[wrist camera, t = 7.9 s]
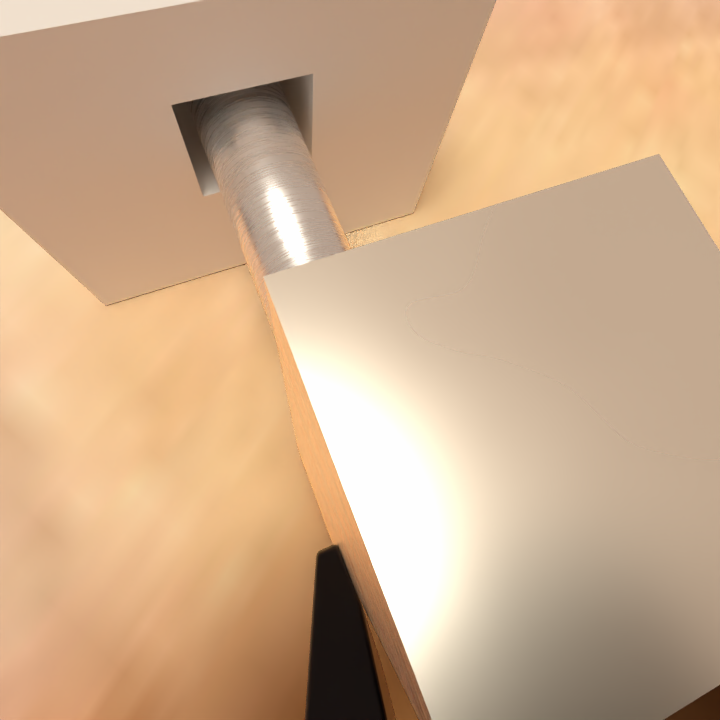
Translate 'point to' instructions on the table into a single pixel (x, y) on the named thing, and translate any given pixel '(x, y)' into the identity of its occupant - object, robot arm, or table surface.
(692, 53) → the table surface
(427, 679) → the grey piece
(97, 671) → the table surface
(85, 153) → the block
